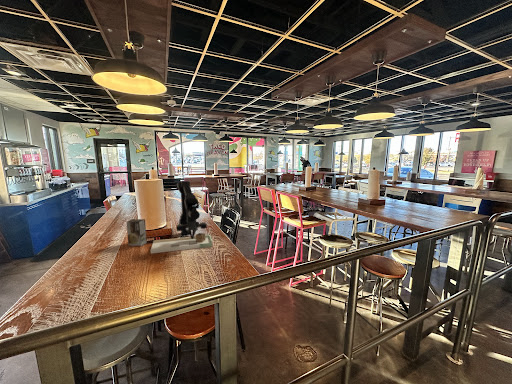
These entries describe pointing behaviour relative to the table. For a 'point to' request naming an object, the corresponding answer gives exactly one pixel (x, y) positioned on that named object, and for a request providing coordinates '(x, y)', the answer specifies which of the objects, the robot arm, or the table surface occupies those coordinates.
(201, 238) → the block
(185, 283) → the table surface
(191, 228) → the robot arm
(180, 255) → the table surface
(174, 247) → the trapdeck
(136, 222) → the coffee box
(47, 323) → the table surface
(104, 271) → the table surface
